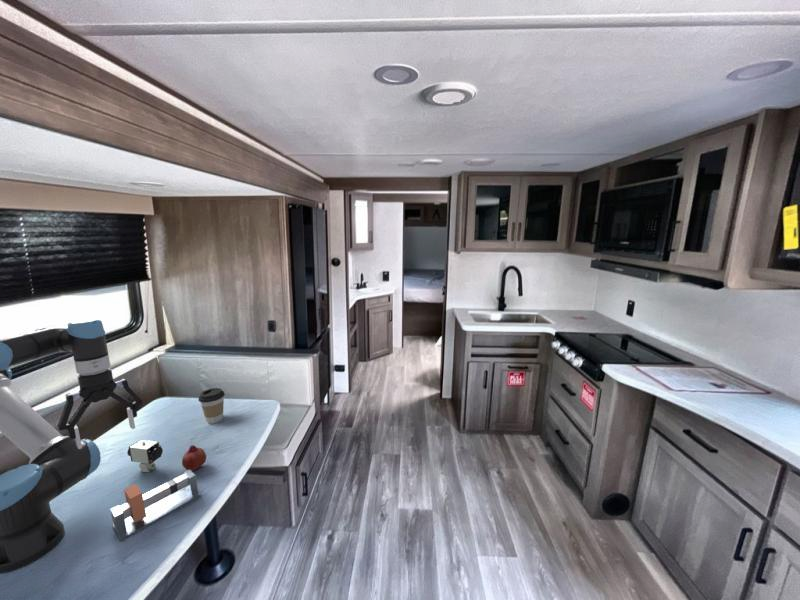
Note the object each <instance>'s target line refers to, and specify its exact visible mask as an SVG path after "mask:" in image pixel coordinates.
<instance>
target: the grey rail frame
mask: <svg viewBox="0 0 800 600" xmlns="http://www.w3.org/2000/svg"><path fill="white" fill-rule="evenodd" d="M142 495H143V500H144V506H145V511H146V517H144V518H143V519H141V520H139V521H137V522H135V523H134V521H133V519H132V518H131V516H132V510H131V506H130V504H129V502H126V503H123V504H121V505H119V504H118V505H116V506H113V507H111V508H110V514H111V518H112V519H111V520H112V522H113V523H112V528H113V531H114V532H115V534H116V536H117V537H118V539H119V541H120V543H122V542H124V541H126V540H128V539H129V538H131V537H132V536H133V537H134V536H135V535H136V534H138V533H140V532H141V531H143V530H145V529H148V528H149V527H151V526H152V525H154V524H155V523H158V522H159V521H162V519H165V518H166V517H168V516H170V515H171V514H173V513H175V512H177V511H179V510H180V509H182V508H183V507H185V506H187V505H189V504H191V503H192V502H194V501H196V500H198V499H199V498H202V495H201V493H200V492H199V489H198V482H197V475H196V474H195V473H194V472H193V471H191V470H185V471H184V472H183V474H182V475H181V474H180V475H179V476H177V477H174V478H173V479H171V480H169V481H167V482H165V483H163V484H162V485H159V486H157V487H156V488H153V489H151V490H150V491H147V492H146V493H144V494H143V493H142Z"/></svg>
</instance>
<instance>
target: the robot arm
mask: <svg viewBox="0 0 800 600" xmlns="http://www.w3.org/2000/svg"><path fill="white" fill-rule="evenodd" d="M59 353H72V356H73V361H74V365H75V370H76V374H78V375H77V380H78V381H77V382H78V385H79V391H78V392H73V393H71V392H69V393H66V394H65V405H64V407H63V410H62V412H61V415H60V418H59V421H58V423H57V429H58V430H59V431H58V430H57V429H56V428H55V427H54V426H53V425H51V424H50V423H49V422H48V421H47V420H46V419H45V418H43V416H42V415H40V414H39V413H38V411H36V410H35V409H34V408H33V407H32V406H30V405H29V404H28V403H27V402H26V401H25V400H24V399H22V397H20V395H18V394H17V393H16V392H15V391H14V390H12V388H10V387H11V385H12V375H13V371H12V369H10V368H12V367H14V366H15V367H16V366H18V365H21V364H25V363H27V362H31V361H35V360H37V359H41V358H45V357H47V356H48V357H49V356H51V355H55V354H59ZM109 355H110V354H109V350H108V343H107V338H106V331H105V328H104V325H103V322H102V320H101V319H98V318H86V319H78V320H73V321H70V322H69V323H68V324H67V326H59V325H50V326H42V327H38V328H36V329H35V330H34V331H31V332H28V333H23V334H19V335H14V336H10V337H5V338H1V339H0V433H1V434H3V435H4V436H5V437H6V438H7V439H8V440H9V441H11V443H13V444H14V445H15V446H16V447H17V448H18V449H20V450H21V452H23V453H24V454H25V455H26V456H27V457H28V458H29V462H28V464H24V465H20V466H17V468H14V469H13V468H12V469H9V470H8V471H6V472H4V473H2V474H0V574H6V573H9V572H14V571H17V570H19V569H21V568H24V567H26V566H28V565H30V564H32V563H34V562H36V561H38V560H39V559H41V558H42V557H44V556H46V555H47V554H48V553H49V552H51V551H52V550H53V549H54V548H56V547H57V546H58V545H59V543H61V541H62V540H63V539H64V537H65V534H66V529H65V526H64V523H63V522H62V521H61V519H59V518H58V517H57V516H56V515H55V514H54V513H53V512H52V509H51V503H50V502H51V501H53V500H54V499H56V498H57V497H59V496H61V495H62V494H63V493H65V492H66V491H68V490H69V489H71V488H72V487H73V486H75V485H77V484H78V483H80V482H81V481H83V480H85V479H87V477H88V476H90V475H92V474H93V473H94V472H95V471H97V470H98V468H99V467H100V464H101V460H102V457H101V451H100V448H99V447H98V445H97V444H96V442H94V441H93V440H92V439H88V438H82V439H81V437H80V436H81V435H80V431H79V427H78V426H77V424H78V422H79V420H80V419H81V418H82V417H83V415H84V414H85V412H86V410H87V409H88V407H90V405H91V404H92V403H94V404H95V403H97V402H100V401H104V400H107V399H108V398H110V397H111V398H112V399H115V400H116V401H118V402H120V403H121V404H123V405H125V406H127V408H126V413H127V418H128V423H129V424H128V425H129V428H131V429H132V430H135V429H136V425H135V418H137V416H138V412H137V407H138V406H139V405H142V404H143V401H142V400H141V399H140V397H139V396H138V395H137V393H136V392H134V390H132V388H131V387H130V386H129V383H128V380H127V379H125V378H120V380H117V381H115V380H114V377H113V371H112V368H111V361H110V356H109ZM117 386H118V387H119V388H123V390H124V391H125V392H126V393H127V394H128V395H129V397H131V399H132V400H133V402H132V401H130V400H128V399H126V398H125V397H123V396H121V395H120V394H118V393H117V392H115V389H116V388H117ZM78 397H81V398H82V400H81V402H80V405H79V406H78V407H77V409H76V411H75V412H74V413H73V415H72V416H71V417H70V415H71V412H72V410H73V407H74V403H75V401H77V400H78ZM69 417H70V420H69ZM64 430H67V434H68V435H65V436H64V435H63V434H62V433H60V431H64Z"/></svg>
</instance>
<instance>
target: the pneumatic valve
mask: <svg viewBox="0 0 800 600" xmlns="http://www.w3.org/2000/svg"><path fill="white" fill-rule="evenodd" d="M163 451H164V450H163V447H162V445H161V444H160V442H159V441H155V440H154V439H148V440H142V439H139V440H138V441H136V442H135V443H133V444H131V445H130V446H128V450H127V456H128V457H130V460H131V461H130V462H131V463H132V462H133V463H139V469H140V472H141V473H142V472H143V473H150V472H151V471H153V470H154V469H156V466H157V465H156V461H157V460H159V459H160V458H161V457H162V455H163Z"/></svg>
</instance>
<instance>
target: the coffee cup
mask: <svg viewBox="0 0 800 600" xmlns="http://www.w3.org/2000/svg"><path fill="white" fill-rule="evenodd" d="M225 394H226V393H225V391H223V390H222V388H219V387H214V388H209V389H205V390H204V391H202V392H200V395H199V396H198V402H200V405H201V409H202V412H203V415H204V418H205V419H204V420H205V421H206V424H209V425H213V424H218V423H220V422H221V421H223V420H224V405H225V404H224V402H225V401H224V400H225V397H224V396H225Z"/></svg>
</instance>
